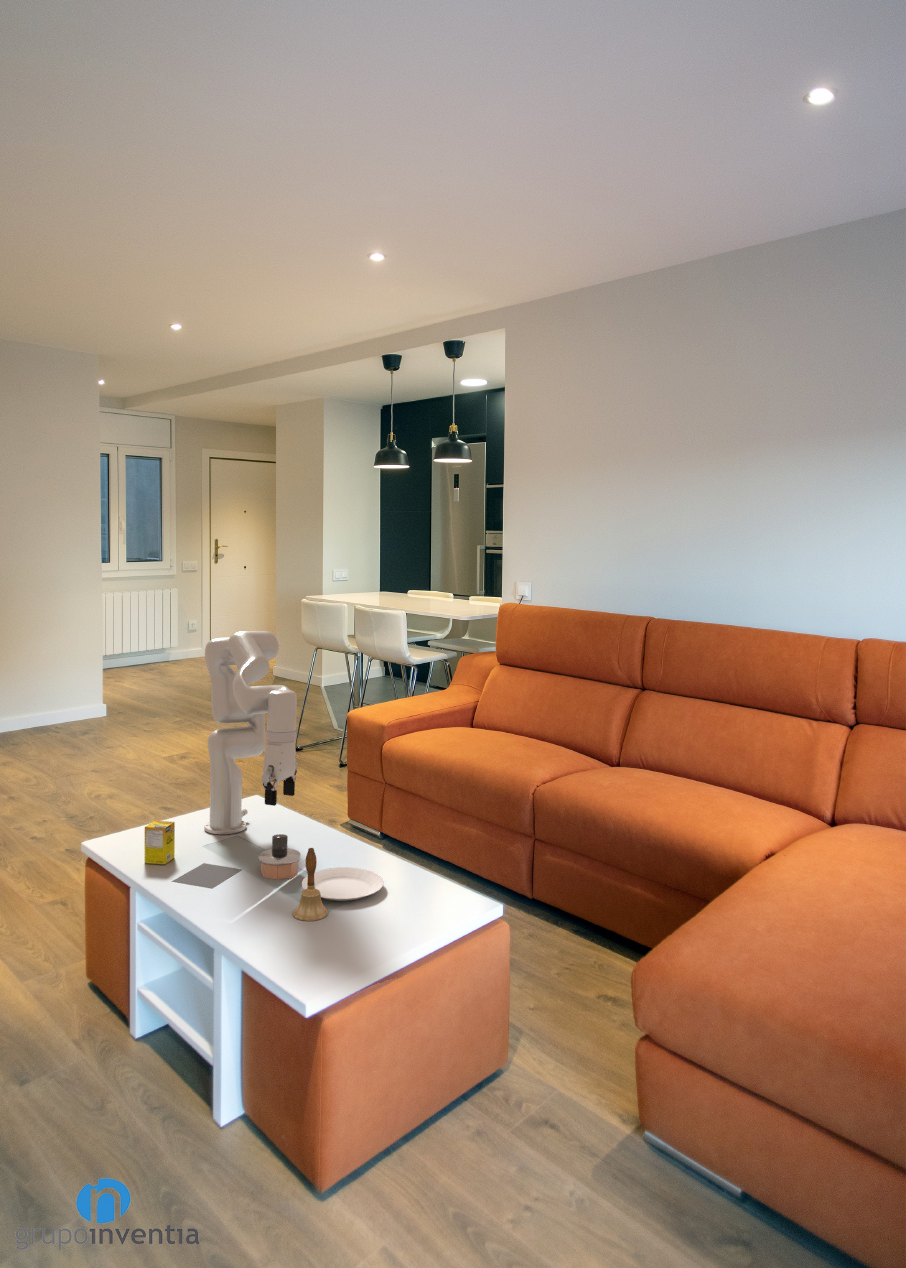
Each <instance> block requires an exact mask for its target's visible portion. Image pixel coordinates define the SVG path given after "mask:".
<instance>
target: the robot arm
mask: <svg viewBox="0 0 906 1268" xmlns="http://www.w3.org/2000/svg"><path fill="white" fill-rule="evenodd" d="M279 647H280V646H279V641H278V638H277V637H276V635H275V634H274V633H273V632H271V631H268V630H267V631H266V630H254V631H253V630H248V631H247V630H245V631H244V630H243V631H237V632H235V633H233V634H232V635H231V636H230V637H218V638H213V639H211V640H209V641H208V642H206V644H205V648H204V660H205V664H206V668H207V671H208V673H209V678H210V685H211V686H210V688H211V689H210V691H211V693H210V694H211V713H212V714H211V715H212V719H213V721H214V722H215V723H217V724H224V725H225V724H226V725H228V724H240V723H241V724H243V723H244V724H245V723H246V724H247V726H240V727H238V726H235V727H226V728H225V727H224V728H223V727H222V728H219V729H218V728H217V729H216V730H213V731H211V732H210V734H209V735H208V737H207V749H208V756H209V765H210V766H209V767H210V768H209V769H210V773H209V774H210V776H209V779H210V780H209V821H208V822H206V823H205V824H204V825H203V826H204V831H205V832H207V833H210V834H213V835H233V834H237V833H240V832H242V831H244V830H246V829H247V823H246V822H245V821H244V820H243V817H244V816H246V815H248V810H247V809H246V808H243V809H242V801H243V799H242V796H243V795H242V791H243V772H242V770H241V768H240V766H239V765H238V764H237V763H236V762H235V760H236V759H241V758H242V759H243V758H250V757H251V758H252V757H257V756H260V755H262V754H263V753H264V755H263V756H264V757H263V765H262V776H261V781H262V786H263V790H264V804H265V805H267V806H277V801H278V799H277V797H278V796H277V795H278V790H277V786H278V783H280V782H282V781H283V784H282V785H283V786H282V789H283V791H282V795H284V796H290V797H294V796H295V791H296V790H295V788H296V779H297V777H296V775H297V773H298V770H297V768H298V766H299V762H298V761H297V753H296V751H297V750H296V741H297V739H296V737H297V732H296V731H297V708H298V707H297V706H298V705H297V703H298V702H297V701H298V698H297V693H296V691H294V690H291V689H290V688H289V687H288V686H287V685H282V684H274V685H255V686H254V685H253V686H251V685H252V684H254V683H257V682H259V681H260V680H262V679H263V678H265V676H266V675H267V674H268V673H269V670H270V668H271V667H270V666H271V665H270V661H271V660H274V659H275V658H276V657H277V656H278V654H279V649H280V648H279ZM232 666H236V667H237V671H236V670H235V669H234V668H233V667H232ZM265 714H266V715H267V717H266V715H265ZM265 717H266V718H267V719H266V718H265ZM266 721H267V722H266Z"/></svg>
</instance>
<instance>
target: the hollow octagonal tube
mask: <svg viewBox="0 0 906 1268" xmlns="http://www.w3.org/2000/svg"><path fill="white" fill-rule="evenodd" d="M298 867H299V860H298V861H297V862H295V863H292V864H288V865H267V864H264V863H261V862H260V873H261V875H262V876H263V878H268V879H272V880H282V879H283V880H284V879H288V880H292V879H293V878H295V877H296V876H298V874H299V868H298Z"/></svg>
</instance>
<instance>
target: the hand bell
mask: <svg viewBox="0 0 906 1268" xmlns="http://www.w3.org/2000/svg"><path fill="white" fill-rule="evenodd" d="M316 868H317V855H316V851H315V848H314V847H308V849H307V853H306V857H305V869H306V872H307V873H306V874H307V876H308V883H307V885H308V887H307V889H305V890H304V889H303V890H302V892H301V895H300V901H299V904H298V906H297V907H296V908H295V909H294V910H293V912H292V916H293V917H294V918H295V919H297V920H299V921H303V922H312V921H313V922H315V921H319V920H322V919H324V918H326V917H327V916H328V915H329V911H328V909H327V908H326V907H325V905H324V904H323V901H322V898H321V894H320V891H319V890H318V889H315V883H314V873H315V872H316Z"/></svg>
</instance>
